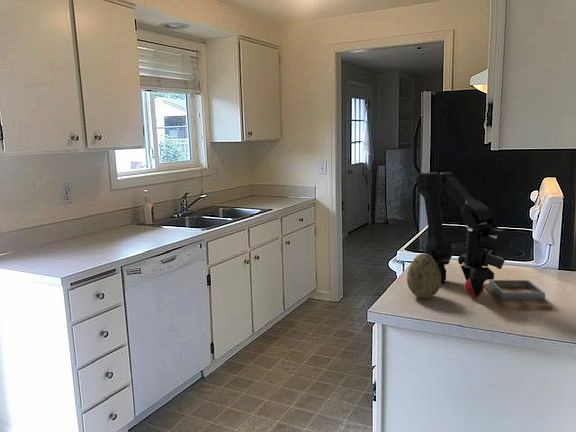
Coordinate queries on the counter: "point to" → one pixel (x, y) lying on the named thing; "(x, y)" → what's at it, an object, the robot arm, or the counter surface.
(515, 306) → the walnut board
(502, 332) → the counter surface
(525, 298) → the square metal frame
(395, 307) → the counter surface
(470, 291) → the onion
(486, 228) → the robot arm
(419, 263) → the decorative egg
